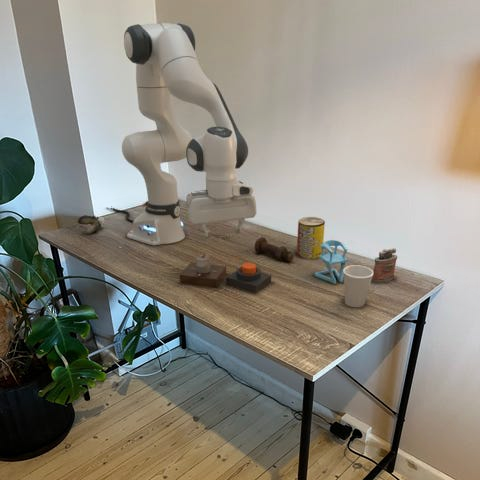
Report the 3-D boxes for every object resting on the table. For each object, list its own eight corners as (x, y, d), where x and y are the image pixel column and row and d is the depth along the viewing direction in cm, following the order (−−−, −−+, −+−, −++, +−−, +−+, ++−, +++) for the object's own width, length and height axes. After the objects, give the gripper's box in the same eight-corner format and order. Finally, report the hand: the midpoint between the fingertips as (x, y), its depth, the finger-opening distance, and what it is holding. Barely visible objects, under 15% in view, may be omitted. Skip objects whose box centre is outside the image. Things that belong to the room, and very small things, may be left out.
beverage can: (295, 248, 179) (297, 216, 173) (320, 249, 179) (323, 216, 173) (297, 258, 171) (299, 225, 165) (323, 258, 171) (326, 225, 165)
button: (238, 272, 152) (238, 266, 151) (246, 267, 155) (246, 261, 154) (250, 275, 150) (250, 269, 149) (258, 270, 153) (258, 264, 152)
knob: (207, 273, 154) (206, 259, 152) (194, 272, 155) (193, 258, 153) (212, 268, 158) (211, 254, 155) (199, 266, 159) (198, 253, 157)
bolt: (289, 268, 169) (257, 254, 178) (298, 257, 170) (265, 245, 179) (285, 257, 164) (252, 244, 173) (294, 246, 166) (261, 234, 175)
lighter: (376, 284, 154) (380, 254, 149) (369, 280, 156) (373, 250, 151) (396, 278, 157) (401, 249, 152) (389, 274, 160) (393, 245, 154)
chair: (328, 285, 153) (331, 249, 147) (314, 275, 160) (316, 240, 154) (349, 281, 156) (353, 245, 150) (334, 271, 162) (337, 236, 156)
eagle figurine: (90, 222, 202) (74, 225, 195) (97, 209, 199) (80, 211, 191) (102, 235, 201) (86, 238, 194) (109, 222, 197) (93, 224, 190)
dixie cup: (348, 293, 149) (352, 262, 144) (374, 301, 144) (379, 270, 139) (334, 303, 143) (337, 272, 138) (360, 312, 138) (364, 280, 133)
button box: (226, 284, 154) (225, 271, 152) (242, 274, 161) (242, 261, 158) (255, 293, 149) (255, 280, 147) (271, 282, 155) (271, 269, 153)
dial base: (180, 283, 155) (179, 274, 154) (191, 270, 164) (191, 261, 162) (216, 288, 152) (216, 278, 151) (226, 274, 161) (226, 265, 159)
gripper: (188, 194, 136) (191, 242, 143) (258, 187, 141) (258, 234, 148) (183, 189, 141) (186, 235, 148) (251, 182, 147) (251, 227, 154)
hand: (223, 234), depth 148 cm, fingers open, 8 cm apart
